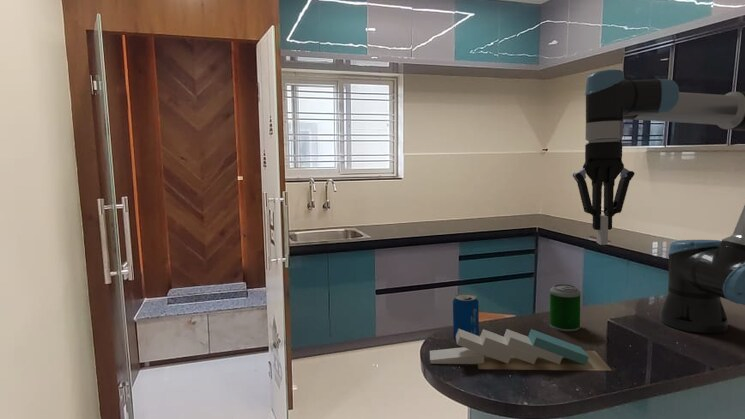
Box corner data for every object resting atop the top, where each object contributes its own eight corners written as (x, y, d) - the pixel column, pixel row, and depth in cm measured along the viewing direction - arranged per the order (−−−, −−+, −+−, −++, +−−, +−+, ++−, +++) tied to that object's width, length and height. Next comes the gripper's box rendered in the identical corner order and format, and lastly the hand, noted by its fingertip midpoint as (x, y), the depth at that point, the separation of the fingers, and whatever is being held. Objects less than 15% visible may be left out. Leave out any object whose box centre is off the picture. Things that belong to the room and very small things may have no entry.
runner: (594, 355, 107) (594, 350, 107) (612, 375, 97) (612, 370, 97) (473, 354, 110) (473, 349, 110) (478, 374, 100) (478, 368, 100)
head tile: (581, 347, 104) (531, 328, 105) (589, 356, 99) (536, 337, 100) (577, 355, 105) (527, 336, 105) (585, 364, 100) (533, 345, 100)
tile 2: (556, 347, 105) (506, 328, 106) (562, 356, 100) (510, 337, 101) (553, 354, 105) (503, 336, 106) (559, 364, 100) (507, 345, 101)
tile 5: (480, 345, 107) (429, 350, 108) (483, 354, 102) (430, 360, 103) (481, 353, 107) (430, 358, 108) (484, 363, 102) (431, 368, 104)
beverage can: (464, 348, 114) (463, 302, 112) (448, 340, 119) (447, 295, 118) (484, 342, 116) (483, 297, 115) (468, 334, 122) (467, 291, 121)
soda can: (583, 336, 118) (583, 291, 117) (552, 334, 120) (552, 290, 118) (576, 325, 126) (576, 283, 124) (547, 324, 127) (547, 282, 126)
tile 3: (532, 347, 106) (482, 329, 106) (537, 356, 101) (485, 337, 101) (528, 354, 106) (479, 336, 107) (534, 364, 101) (482, 345, 102)
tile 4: (507, 346, 106) (458, 328, 107) (511, 355, 101) (460, 336, 102) (504, 354, 106) (455, 336, 107) (508, 363, 101) (457, 344, 102)
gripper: (626, 140, 106) (624, 240, 108) (568, 143, 107) (567, 241, 110) (641, 139, 98) (639, 246, 101) (579, 142, 100) (578, 247, 103)
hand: (601, 243), depth 105 cm, fingers closed
